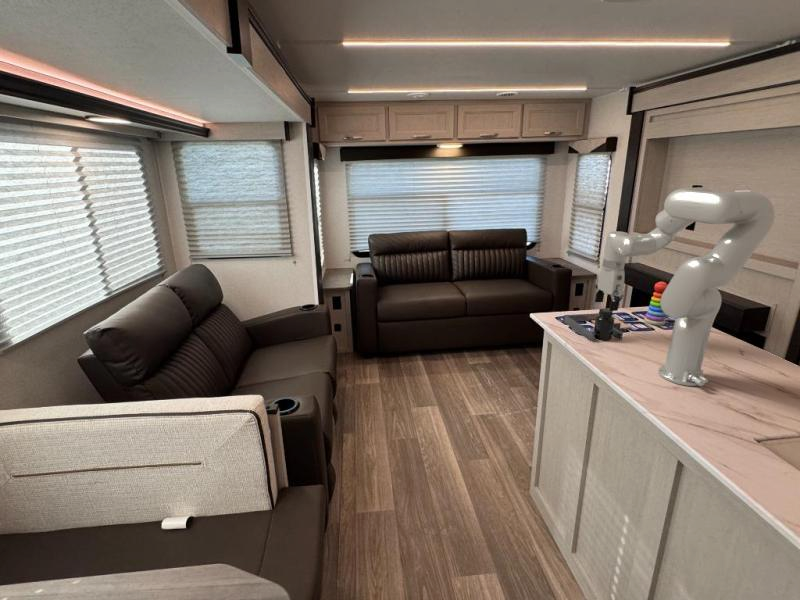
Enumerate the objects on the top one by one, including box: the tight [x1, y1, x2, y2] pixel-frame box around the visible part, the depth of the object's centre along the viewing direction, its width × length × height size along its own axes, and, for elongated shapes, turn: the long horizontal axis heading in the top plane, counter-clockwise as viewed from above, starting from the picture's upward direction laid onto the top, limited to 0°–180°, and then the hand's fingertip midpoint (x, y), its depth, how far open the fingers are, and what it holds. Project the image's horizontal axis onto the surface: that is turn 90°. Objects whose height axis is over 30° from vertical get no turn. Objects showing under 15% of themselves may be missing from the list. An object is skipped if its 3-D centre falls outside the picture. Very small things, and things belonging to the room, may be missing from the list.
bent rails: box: [562, 312, 624, 342], centre depth 172 cm, size 22×18×3 cm
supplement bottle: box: [593, 308, 615, 342], centre depth 162 cm, size 7×7×12 cm
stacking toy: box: [643, 281, 668, 326], centre depth 176 cm, size 8×8×19 cm
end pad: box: [591, 318, 632, 330], centre depth 177 cm, size 10×12×1 cm
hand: (605, 306), depth 160 cm, fingers open, 9 cm apart
